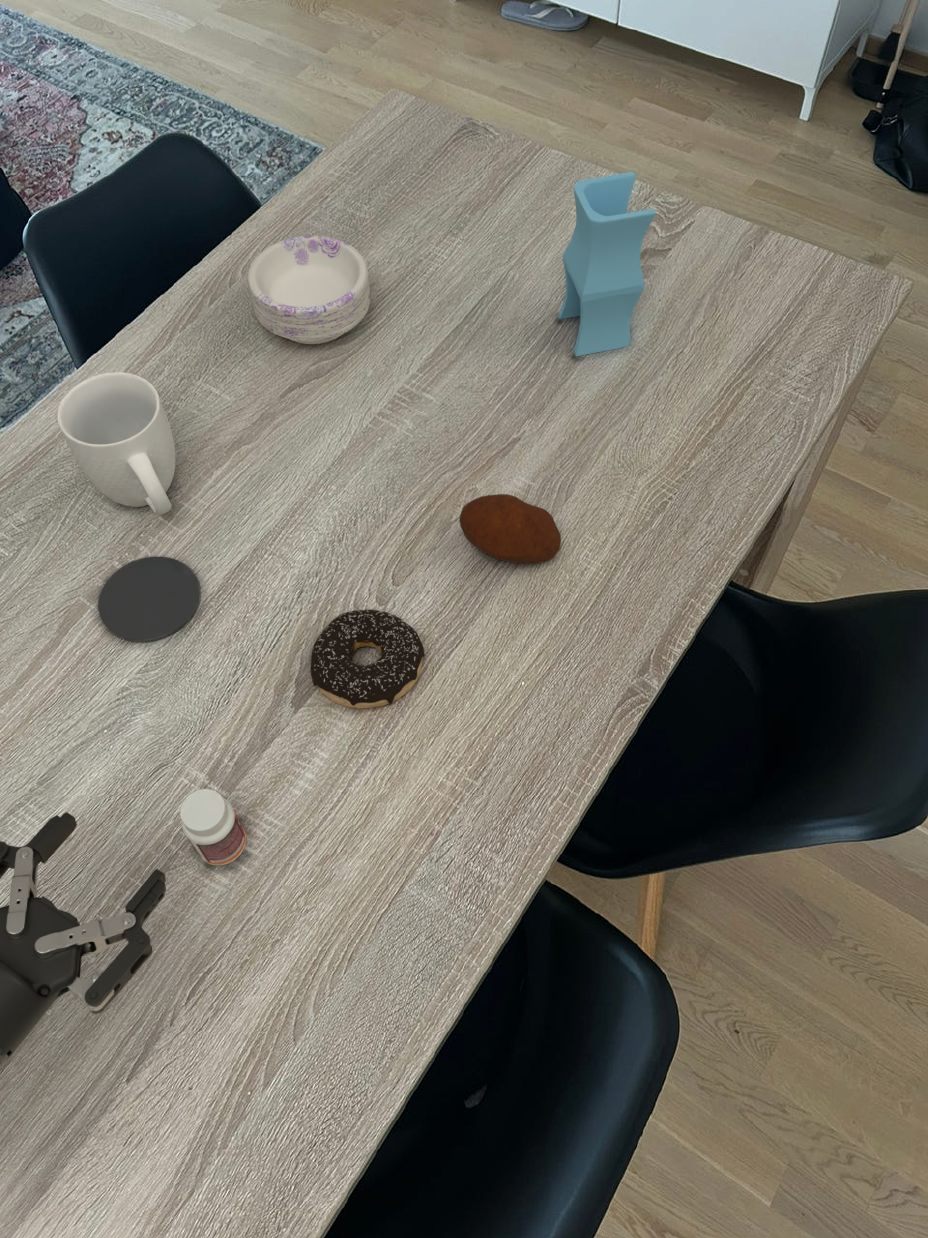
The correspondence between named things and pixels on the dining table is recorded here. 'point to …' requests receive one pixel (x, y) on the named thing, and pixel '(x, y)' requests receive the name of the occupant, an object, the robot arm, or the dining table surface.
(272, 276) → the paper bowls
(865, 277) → the dining table surface
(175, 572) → the coaster
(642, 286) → the vase
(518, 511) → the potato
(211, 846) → the pill bottle
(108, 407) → the mug
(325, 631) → the donut
